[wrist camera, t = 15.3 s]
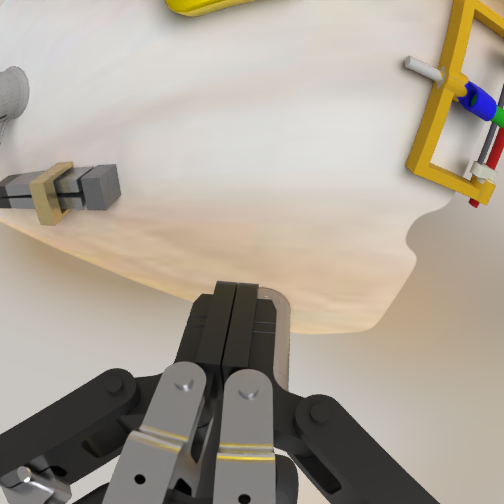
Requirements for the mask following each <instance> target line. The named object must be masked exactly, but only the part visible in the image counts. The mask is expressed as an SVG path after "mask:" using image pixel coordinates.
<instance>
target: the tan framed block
mask: <svg viewBox="0 0 504 504" xmlns="http://www.w3.org/2000/svg"><path fill="white" fill-rule="evenodd" d="M72 166H73V162H65V163H57V164H56V165H54V166H53V167H51V168H50V169H49V170H47V171H46V172H44V173H43V174H41V175H40V176H38V177H37V178H36V179H34V180H33V181H32V182H30V183H29V188H30V191H31V195H32V199H33V202H34V205H35V209H36V212H37V215H38V218H39V221H40V224H41V225H50V226H55V225H56V224H57V223H59V222H60V221H61V220H62V219H63V218H64V217H65V216H66V215H67V214H68V213H69V212H70V211H71V210H72V209H60V206H59V203H58V199H57V195H56V191H55V187H54V183H53V180H54V179H55V178H57V177H58V176H59V175H61V174H62V173H63V172H65V171H66V170H68V169H69V168H71V167H72Z"/></svg>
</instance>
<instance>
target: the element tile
mask: <svg viewBox="0 0 504 504" xmlns="http://www.w3.org/2000/svg"><path fill="white" fill-rule="evenodd" d="M165 1H166V3H167V5H168V7H169V8H170V9H171V10H172V11H174V12H177V13H179V14H182V15H185V16H188V17H197V16H201V15H204V14H207V13H210V12H214V11H217V10H220V9H224V8H227V7H231V6H235V5H239V4H243V3H247V2H251V1H255V0H165Z"/></svg>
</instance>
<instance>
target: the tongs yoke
mask: <svg viewBox="0 0 504 504" xmlns="http://www.w3.org/2000/svg"><path fill="white" fill-rule="evenodd" d="M81 183H82V187H83V191H84V196H85V200H86V204H87V208H88V210H107V209H108V208H109V207H110V206H111V205H112V204H113V203H114V201H115V200H116V199H117V198H118V197H119V196H120V195H121V191H120V185H119V180H118V174H117V168H116V164H111V165H98V166H96V167H95V168H94V169H92V170H91V171H90V172H88V173H87V174H86V175H84V176H83V177H82V178H81Z"/></svg>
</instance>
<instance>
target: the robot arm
mask: <svg viewBox="0 0 504 504" xmlns="http://www.w3.org/2000/svg"><path fill="white" fill-rule="evenodd" d="M289 350H290V304H289V302H288V300H287V299H286V298H285V297H284V296H283V295H282V294H280V293H278V292H276V291H274V290H271V289H266V288H259V284H249V283H236V282H224V281H217V283H216V287H215V290H214V294H213V295H211V294H201V295H200V296H199V298H198V299H197V300H196V301H195V302H194V303H193V306H192V309H191V312H190V316H189V318H188V321H187V326H186V327H185V330H184V333H183V337H182V340H181V343H180V346H179V349H178V352H177V356H176V359H175V361H174V363H173V364H172V365H170V366H169V367H168V368H166V369H165V371H164V372H163V373H161V374H158V375H154V376H147V377H137V378H134V377H133V376H132V375H131V373H130V372H128V371H126V370H124V369H119V368H114V369H110V370H107V371H105V372H104V373H102V374H100V375H99V376H97V377H96V378H94V379H92V380H91V381H89V382H88V383H86V384H84V385H83V386H81V387H79V388H78V389H76V390H74V391H73V392H71V393H69V394H68V395H66V396H65V397H63V398H61V399H60V400H58V401H56V402H55V403H53V404H51V405H50V406H48V407H46V408H45V409H43V410H41V411H40V412H38V413H36V414H35V415H33V416H31V417H30V418H28V419H26V420H25V421H23V422H21V423H19V424H18V425H16V426H14V427H13V428H11V429H9V430H8V431H6V432H4V433H2V434H1V435H0V486H1V487H2V489H3V492H4V494H5V496H6V498H7V501H8V503H9V504H65V503H67V501H68V500H69V499H70V498H71V496H72V493H71V489H70V485H71V484H72V483H74V482H76V481H78V480H79V479H81V478H83V477H84V476H86V475H88V474H89V473H91V472H93V471H94V470H96V469H98V468H99V467H101V466H102V465H104V464H106V463H107V462H109V461H111V460H112V459H114V458H115V457H117V456H118V455H120V454H121V455H120V457H119V460H118V462H117V465H116V467H115V470H114V473H113V475H112V478H111V481H110V482H109V483H106V484H104V485H102V486H100V487H98V488H96V489H95V490H93V491H92V492H90V493H89V494H87V495H85V496H84V497H82V498H81V499H79V500H77V501H76V502H74V503H72V504H297V499H298V485H299V483H298V473H297V469H296V466H295V464H294V462H295V463H296V465H297V466H298V467H299V468H300V469H301V471H302V472H303V473H304V474H305V475H306V476H307V478H308V479H309V480H310V481H311V482H312V483H313V484H314V486H315V487H316V488H317V489H318V490H319V491H320V492H321V493H322V494H323V496H324V497H325V498H326V499H327V500H328V501H329V502H330V503H331V504H440V503H439V502H438V501H437V500H435V499H434V498H433V497H432V496H431V495H430V494H429V493H428V492H427V491H426V490H425V489H424V488H423V487H422V486H421V485H420V484H419V483H418V482H417V481H415V480H414V479H413V478H412V477H411V476H410V475H409V474H408V473H407V472H406V471H405V470H404V469H403V468H402V467H401V466H400V465H399V464H398V463H397V462H396V461H395V460H394V459H393V458H392V457H391V456H390V455H389V454H388V453H387V452H386V451H385V450H384V449H383V448H382V447H381V446H380V445H379V444H378V443H377V442H376V441H375V440H374V439H373V438H372V437H371V436H370V435H369V434H368V433H367V432H366V431H365V430H364V429H363V428H362V427H361V426H360V425H359V424H358V423H357V422H356V420H355V419H354V418H353V417H352V416H351V415H349V413H348V412H347V411H346V410H345V409H344V408H343V407H342V406H341V405H340V404H339V403H338V402H337V401H336V400H335V399H333V398H332V397H329V396H327V395H321V394H316V395H311V396H308V397H306V398H303V397H301V396H298V395H295V394H293V393H290V392H288V382H289ZM273 447H275V448H278V449H281V450H283V451H286V452H287V454H288V455H289V456H290V457H291V459H292V460H293V461H294V462H293V461H292V460H291V459H290V458H288V457H286V456H283V455H277V454H275V453H274V449H273Z"/></svg>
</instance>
